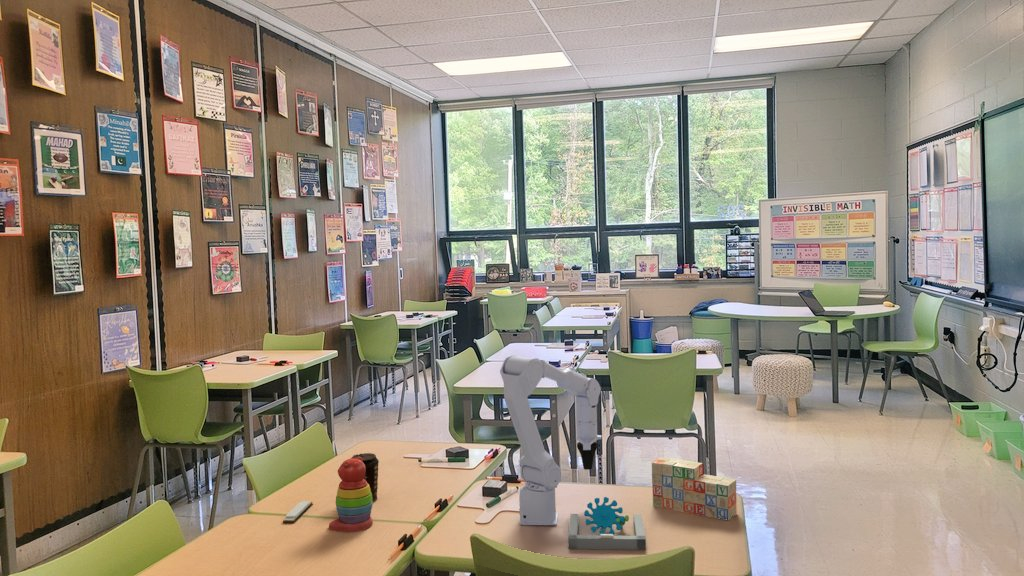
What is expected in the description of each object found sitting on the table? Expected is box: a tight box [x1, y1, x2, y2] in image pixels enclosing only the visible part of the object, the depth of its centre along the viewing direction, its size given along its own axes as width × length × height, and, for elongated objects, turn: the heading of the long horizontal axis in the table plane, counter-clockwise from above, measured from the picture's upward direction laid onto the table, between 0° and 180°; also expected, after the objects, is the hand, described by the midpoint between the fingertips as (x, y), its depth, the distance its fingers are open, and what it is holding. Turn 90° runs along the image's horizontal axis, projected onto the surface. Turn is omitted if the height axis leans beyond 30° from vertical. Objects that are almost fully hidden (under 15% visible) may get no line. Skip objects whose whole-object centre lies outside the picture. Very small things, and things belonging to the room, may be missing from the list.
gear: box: [583, 496, 630, 536], centre depth 185 cm, size 11×6×10 cm
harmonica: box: [282, 500, 314, 525], centre depth 203 cm, size 15×3×2 cm, turn 176°
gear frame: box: [567, 513, 647, 551], centre depth 180 cm, size 18×16×3 cm
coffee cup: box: [351, 452, 380, 503], centre depth 211 cm, size 9×8×13 cm
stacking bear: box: [328, 457, 374, 533], centre depth 192 cm, size 11×10×18 cm
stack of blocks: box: [651, 456, 737, 521], centre depth 196 cm, size 21×6×12 cm, turn 53°
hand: (587, 468), depth 204 cm, fingers closed
